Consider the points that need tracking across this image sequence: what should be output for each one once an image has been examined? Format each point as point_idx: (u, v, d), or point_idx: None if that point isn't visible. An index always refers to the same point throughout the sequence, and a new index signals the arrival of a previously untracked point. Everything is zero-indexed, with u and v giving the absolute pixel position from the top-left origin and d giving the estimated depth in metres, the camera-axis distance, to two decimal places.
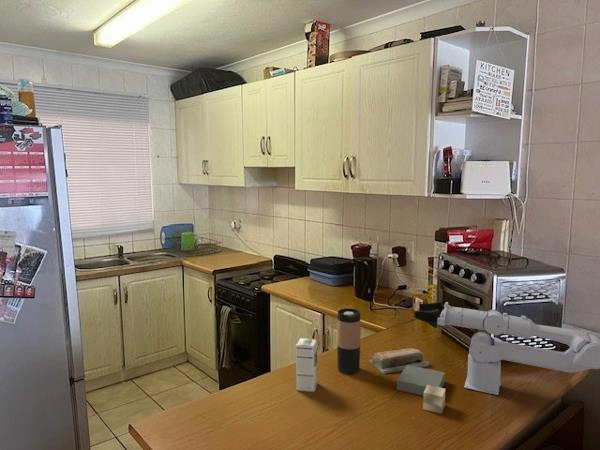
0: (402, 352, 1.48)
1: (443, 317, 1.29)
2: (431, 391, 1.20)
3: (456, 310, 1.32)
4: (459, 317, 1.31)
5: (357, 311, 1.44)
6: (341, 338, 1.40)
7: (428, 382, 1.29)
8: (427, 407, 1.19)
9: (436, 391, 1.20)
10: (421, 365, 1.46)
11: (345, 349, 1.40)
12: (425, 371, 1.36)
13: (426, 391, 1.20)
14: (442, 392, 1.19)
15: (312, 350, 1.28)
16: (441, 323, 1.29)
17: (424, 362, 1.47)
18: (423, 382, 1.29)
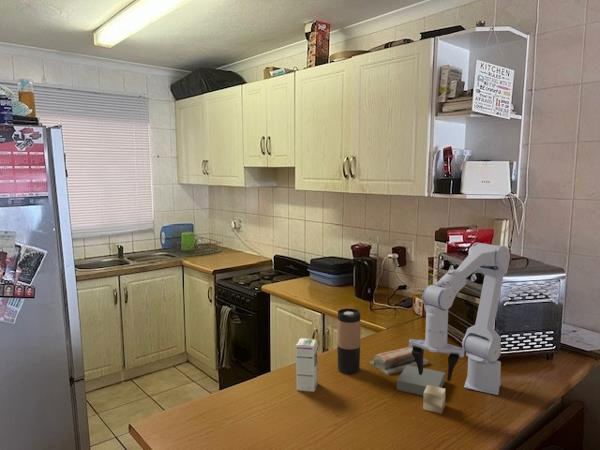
0: (402, 352, 1.48)
1: (458, 351, 1.15)
2: (431, 391, 1.20)
3: (441, 339, 1.16)
4: (446, 333, 1.16)
5: (357, 311, 1.44)
6: (341, 338, 1.40)
7: (428, 382, 1.29)
8: (427, 407, 1.19)
9: (436, 390, 1.20)
10: None
11: (345, 349, 1.40)
12: (425, 371, 1.36)
13: (426, 391, 1.20)
14: (442, 392, 1.19)
15: (312, 350, 1.28)
16: None
17: (423, 360, 1.49)
18: (423, 382, 1.29)
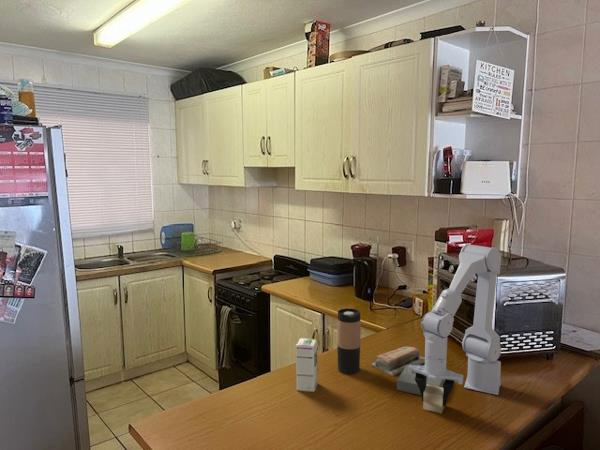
0: (401, 351, 1.49)
1: (457, 378, 1.16)
2: (431, 391, 1.20)
3: (440, 366, 1.17)
4: (445, 360, 1.17)
5: (357, 311, 1.44)
6: (341, 338, 1.40)
7: (428, 382, 1.29)
8: (427, 407, 1.19)
9: (436, 390, 1.20)
10: (420, 362, 1.48)
11: (345, 349, 1.40)
12: None
13: (426, 391, 1.20)
14: (442, 392, 1.19)
15: (312, 350, 1.28)
16: None
17: (421, 358, 1.50)
18: None
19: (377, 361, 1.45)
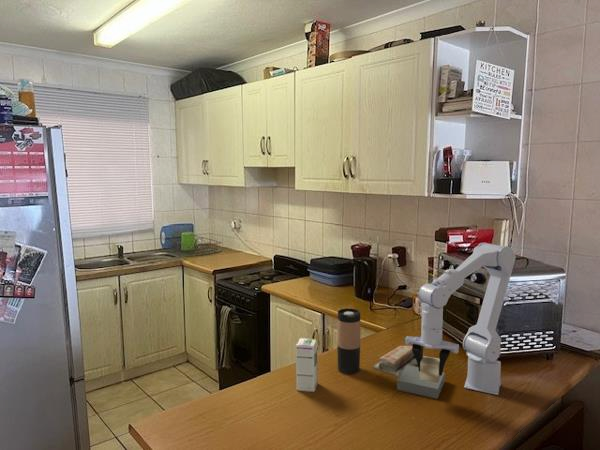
0: (401, 351, 1.49)
1: (452, 347, 1.19)
2: (427, 361, 1.23)
3: (436, 335, 1.20)
4: (441, 330, 1.21)
5: (357, 311, 1.44)
6: (341, 338, 1.40)
7: (428, 382, 1.29)
8: (424, 377, 1.22)
9: (432, 361, 1.23)
10: None
11: (345, 349, 1.40)
12: None
13: (423, 361, 1.23)
14: (438, 362, 1.22)
15: (312, 350, 1.28)
16: (458, 347, 1.20)
17: None
18: (423, 382, 1.29)
19: (381, 363, 1.43)
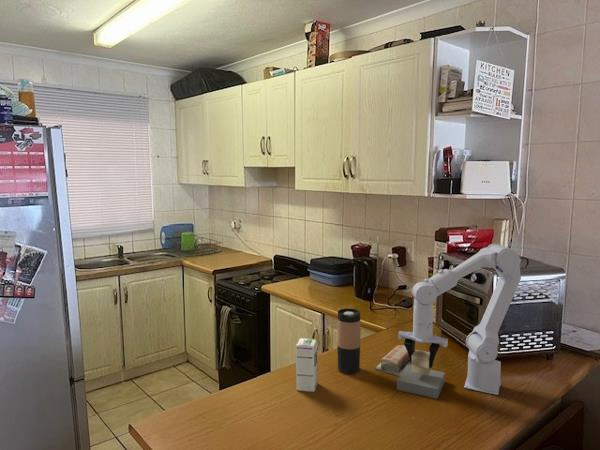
0: (401, 351, 1.49)
1: (442, 341, 1.28)
2: (418, 355, 1.31)
3: (426, 330, 1.28)
4: (431, 325, 1.29)
5: (357, 311, 1.44)
6: (341, 338, 1.40)
7: (428, 382, 1.29)
8: (415, 369, 1.31)
9: (423, 354, 1.32)
10: None
11: (345, 349, 1.40)
12: None
13: (414, 354, 1.31)
14: (428, 355, 1.31)
15: (312, 350, 1.28)
16: (447, 341, 1.28)
17: None
18: (423, 382, 1.29)
19: (383, 364, 1.42)
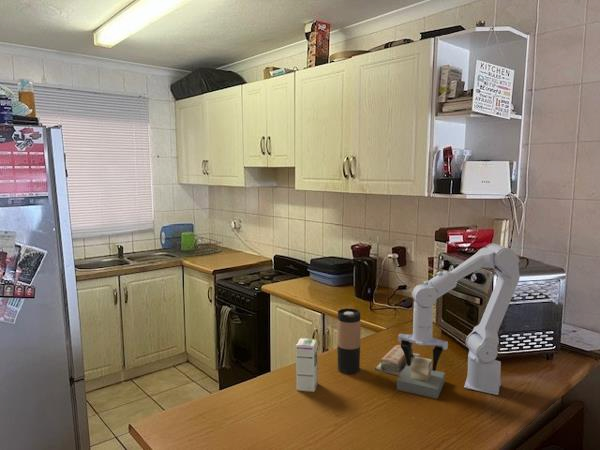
0: (400, 351, 1.49)
1: (442, 344, 1.28)
2: (418, 361, 1.32)
3: (426, 333, 1.28)
4: (431, 328, 1.29)
5: (357, 311, 1.44)
6: (341, 338, 1.40)
7: (428, 382, 1.29)
8: (414, 376, 1.31)
9: (422, 361, 1.32)
10: None
11: (345, 349, 1.40)
12: None
13: (414, 361, 1.32)
14: (428, 362, 1.31)
15: (312, 350, 1.28)
16: (447, 344, 1.29)
17: (415, 355, 1.53)
18: (423, 382, 1.29)
19: (383, 364, 1.42)
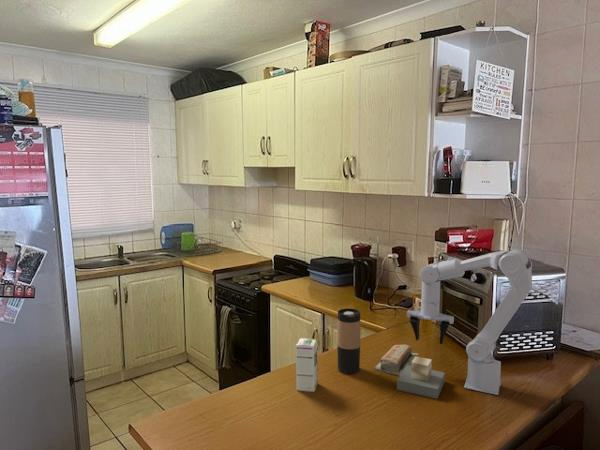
0: (399, 350, 1.49)
1: (448, 318, 1.37)
2: (418, 361, 1.32)
3: (434, 308, 1.37)
4: (438, 304, 1.38)
5: (357, 311, 1.44)
6: (341, 338, 1.40)
7: (428, 382, 1.29)
8: (414, 376, 1.31)
9: (422, 361, 1.32)
10: None
11: (345, 349, 1.40)
12: None
13: (414, 361, 1.32)
14: (428, 362, 1.31)
15: (312, 350, 1.28)
16: (453, 319, 1.38)
17: (414, 354, 1.54)
18: (423, 382, 1.29)
19: (383, 364, 1.42)
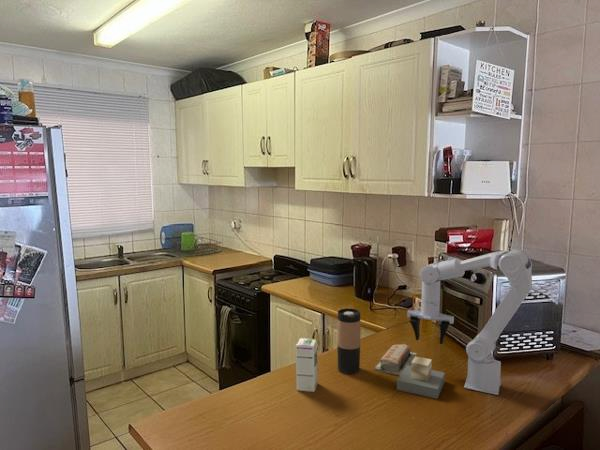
0: (398, 350, 1.50)
1: (448, 318, 1.37)
2: (418, 361, 1.32)
3: (434, 308, 1.38)
4: (438, 304, 1.38)
5: (357, 311, 1.44)
6: (341, 338, 1.40)
7: (428, 382, 1.29)
8: (414, 376, 1.31)
9: (422, 361, 1.32)
10: (414, 357, 1.52)
11: (345, 349, 1.40)
12: None
13: (414, 361, 1.32)
14: (428, 362, 1.31)
15: (312, 350, 1.28)
16: (453, 319, 1.38)
17: (413, 354, 1.54)
18: (423, 382, 1.29)
19: (383, 364, 1.42)
